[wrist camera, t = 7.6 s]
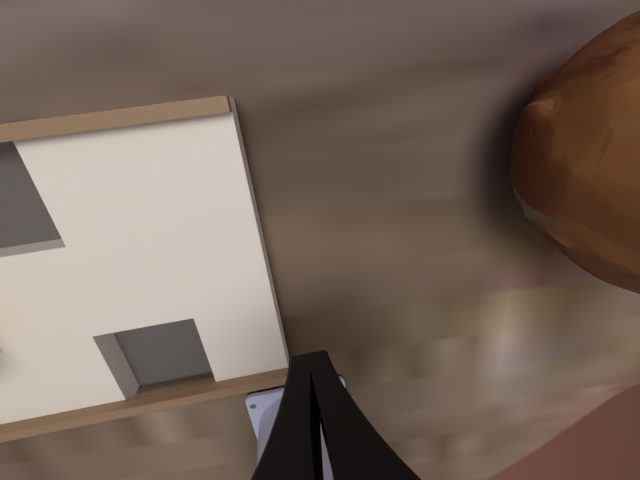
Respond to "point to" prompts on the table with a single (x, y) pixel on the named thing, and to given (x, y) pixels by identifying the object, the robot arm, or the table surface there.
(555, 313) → the table surface
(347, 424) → the robot arm
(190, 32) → the table surface
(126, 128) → the trap tray
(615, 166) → the brown wooden vase
